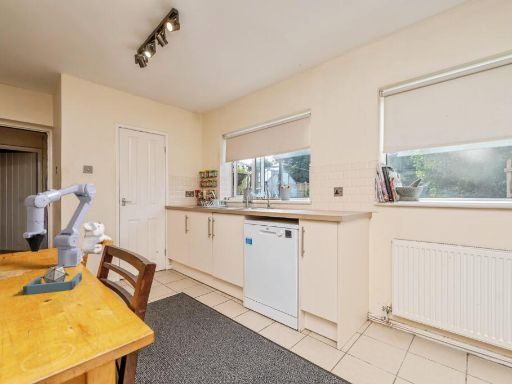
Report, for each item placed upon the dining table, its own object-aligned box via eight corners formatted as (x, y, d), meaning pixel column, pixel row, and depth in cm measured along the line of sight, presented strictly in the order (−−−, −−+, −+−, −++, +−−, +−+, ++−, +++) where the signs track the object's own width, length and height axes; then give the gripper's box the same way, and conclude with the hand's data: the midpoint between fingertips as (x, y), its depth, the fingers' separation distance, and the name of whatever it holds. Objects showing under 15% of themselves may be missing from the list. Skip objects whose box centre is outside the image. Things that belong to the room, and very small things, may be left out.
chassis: (82, 279, 106) (82, 272, 106) (72, 289, 95) (72, 281, 95) (38, 284, 101) (38, 276, 101) (22, 295, 90) (22, 286, 90)
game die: (49, 296, 98) (33, 276, 98) (71, 282, 105) (57, 263, 105) (53, 290, 93) (36, 269, 93) (77, 275, 100) (61, 256, 100)
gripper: (37, 222, 108) (36, 254, 107) (53, 220, 122) (53, 248, 121) (17, 223, 106) (16, 255, 105) (36, 220, 119) (35, 248, 119)
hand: (34, 251), depth 113 cm, fingers closed
